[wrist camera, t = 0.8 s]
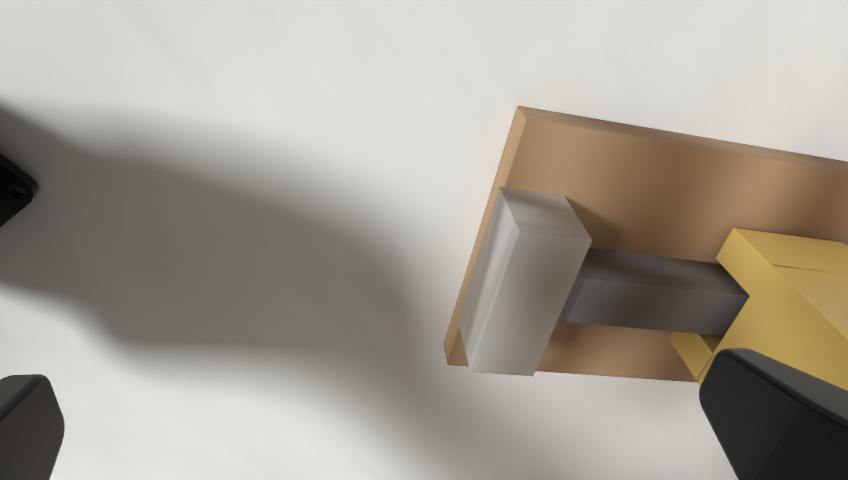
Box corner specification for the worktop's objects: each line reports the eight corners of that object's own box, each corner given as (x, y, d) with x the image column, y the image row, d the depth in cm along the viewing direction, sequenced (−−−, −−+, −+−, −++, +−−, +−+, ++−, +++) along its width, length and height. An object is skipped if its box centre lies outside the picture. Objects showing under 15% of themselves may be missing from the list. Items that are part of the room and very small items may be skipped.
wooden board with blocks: (439, 344, 25) (466, 484, 20) (511, 104, 20) (579, 207, 14) (872, 377, 30) (992, 498, 25) (1032, 193, 25) (1236, 296, 19)
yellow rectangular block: (668, 338, 25) (797, 533, 18) (733, 227, 22) (918, 408, 15) (769, 347, 26) (928, 534, 19) (843, 242, 23) (1065, 418, 16)
